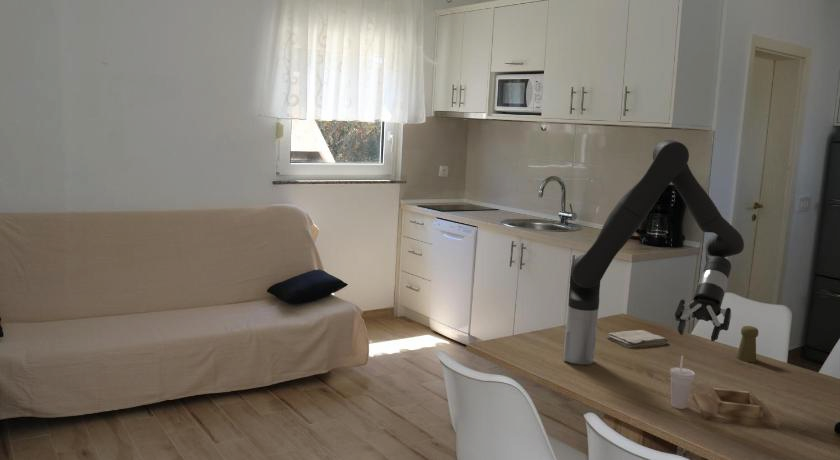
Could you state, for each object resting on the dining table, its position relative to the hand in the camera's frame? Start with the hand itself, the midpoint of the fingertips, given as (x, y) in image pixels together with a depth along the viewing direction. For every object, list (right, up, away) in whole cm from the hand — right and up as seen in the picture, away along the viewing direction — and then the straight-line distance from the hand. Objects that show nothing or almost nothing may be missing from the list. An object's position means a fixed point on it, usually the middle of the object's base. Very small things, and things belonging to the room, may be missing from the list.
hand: (696, 336), depth 201 cm
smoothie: (-7, -18, -7) cm, 20 cm away
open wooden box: (+7, -19, -9) cm, 22 cm away
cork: (+31, -13, +37) cm, 50 cm away
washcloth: (-2, -10, +51) cm, 52 cm away
